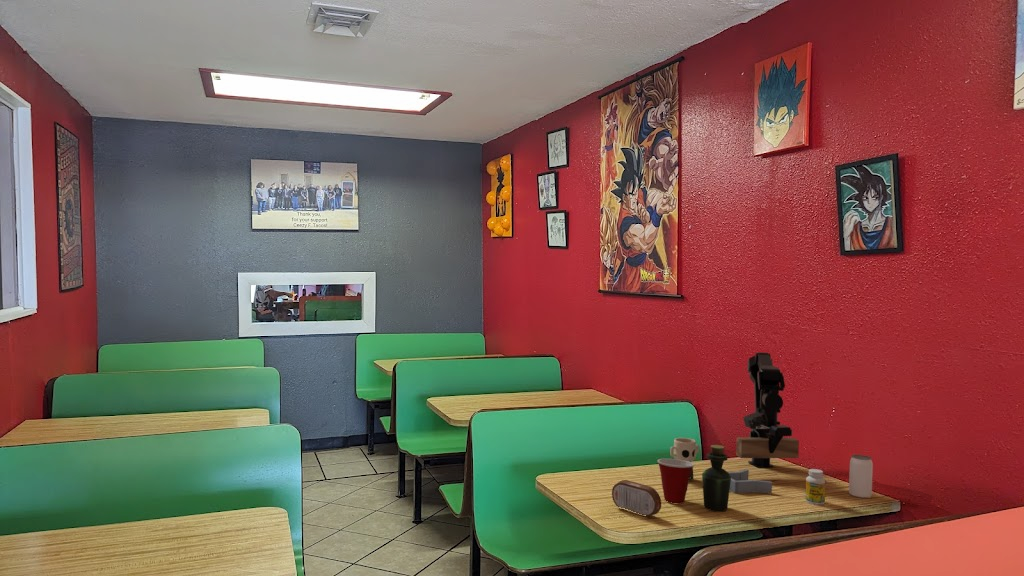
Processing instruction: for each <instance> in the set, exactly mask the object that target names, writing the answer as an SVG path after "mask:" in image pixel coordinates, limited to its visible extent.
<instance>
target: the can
mask: <svg viewBox="0 0 1024 576" xmlns="http://www.w3.org/2000/svg"><path fill="white" fill-rule="evenodd" d="M873 472H874V464H873V461H872V457H870V456H867V455H863V454H851V458H850V461H849V473H848V475H849V476H848V479H849V480H848V493H849V495H850V496H853V497H855V498H860V499H868V498H867V497H870V498H871V497H872V495H873V494H872V493H873Z"/></svg>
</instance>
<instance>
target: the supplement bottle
mask: <svg viewBox="0 0 1024 576" xmlns="http://www.w3.org/2000/svg"><path fill="white" fill-rule="evenodd" d="M805 502H807V503H808V504H810V505H816V506H822V505H824V504H825V503H826V480H825V478H824V471H823V470H821V469H817V468H811V469H808V476H806V478H805Z"/></svg>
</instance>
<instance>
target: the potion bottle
mask: <svg viewBox="0 0 1024 576" xmlns="http://www.w3.org/2000/svg"><path fill="white" fill-rule="evenodd" d="M724 450H725V446H723V445H721V444H720V445H719V444H711V445H710V451H711V452H707V455H706V459H708V460H710V465H711V467H708V468H707V469H705V470H703V472H702V473H701V477H702V493H703V494H702V497H703V506H704V508H705V509H706V510H708V511H711V512H717V511H718V512H719V513H720V512H726V511H727V510H728V505H729V497H730V492H731V491H730V483H731V476H730V474H729V473H728V472H729V471H727V470H726V469H724V468H723V466H724V465H723V464H724V462H726V461H727V460H728V456H727V454H725V453H724Z"/></svg>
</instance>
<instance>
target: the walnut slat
mask: <svg viewBox="0 0 1024 576" xmlns="http://www.w3.org/2000/svg"><path fill="white" fill-rule="evenodd" d="M799 448H800V440H799V439H797V438H795V437H783V438H782V439H781V440H780V442H779V444H778V445H777V447H776V449H775V451H774V452H773V453H770V451H769V438H749V437H736V448H735V449H736V452H735V453H736V454H735V455H736V456H737V457H739V458H741V459H752V458H770V459H799Z"/></svg>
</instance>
